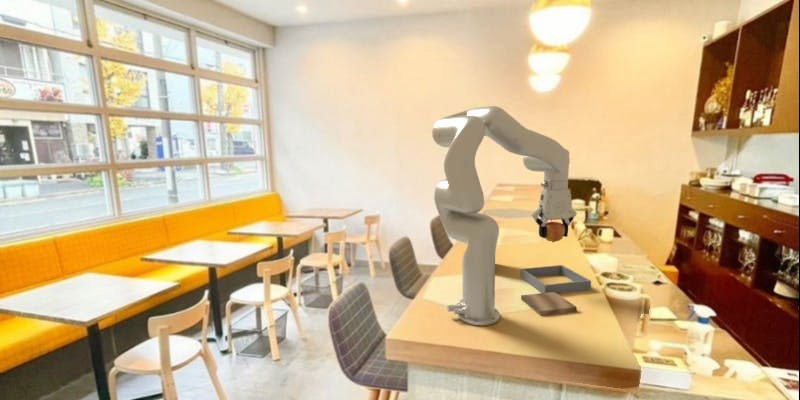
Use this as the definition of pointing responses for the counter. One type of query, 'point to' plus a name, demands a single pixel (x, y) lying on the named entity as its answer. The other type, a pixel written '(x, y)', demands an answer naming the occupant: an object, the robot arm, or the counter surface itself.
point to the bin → (576, 286)
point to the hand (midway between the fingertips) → (553, 236)
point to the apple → (554, 231)
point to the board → (548, 303)
